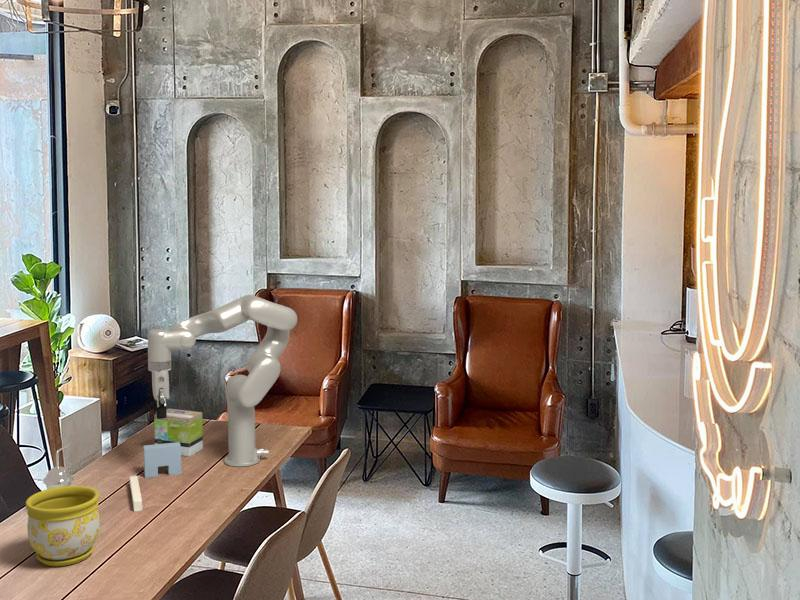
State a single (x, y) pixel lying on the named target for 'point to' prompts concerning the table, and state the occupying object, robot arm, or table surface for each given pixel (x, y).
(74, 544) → the flowerpot
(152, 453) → the grey-blue plate
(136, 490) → the rail
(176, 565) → the table surface
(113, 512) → the table surface
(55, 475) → the cup with straw
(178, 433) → the tea box
